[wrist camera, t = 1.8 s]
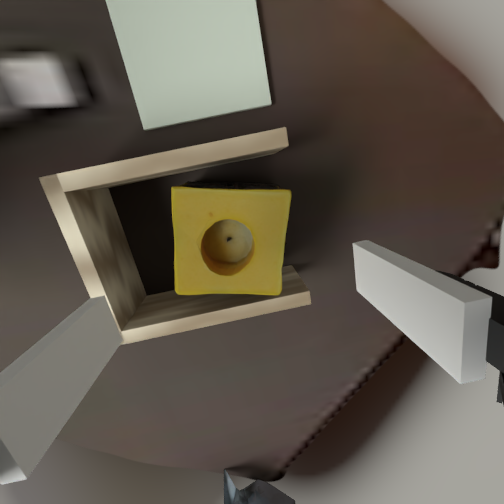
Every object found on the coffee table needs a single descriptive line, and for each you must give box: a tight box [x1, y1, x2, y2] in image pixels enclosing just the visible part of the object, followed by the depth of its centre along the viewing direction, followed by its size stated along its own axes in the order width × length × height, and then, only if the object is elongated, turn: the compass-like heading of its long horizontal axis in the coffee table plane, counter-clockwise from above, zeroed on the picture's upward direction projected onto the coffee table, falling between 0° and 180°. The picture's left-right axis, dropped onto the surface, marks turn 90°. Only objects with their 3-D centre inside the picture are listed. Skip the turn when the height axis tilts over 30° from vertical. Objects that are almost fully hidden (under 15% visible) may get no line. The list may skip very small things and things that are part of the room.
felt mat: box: [106, 0, 271, 131], centre depth 25 cm, size 14×14×1 cm
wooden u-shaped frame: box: [39, 127, 311, 345], centre depth 27 cm, size 17×21×8 cm
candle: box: [171, 181, 291, 295], centre depth 27 cm, size 10×10×10 cm
